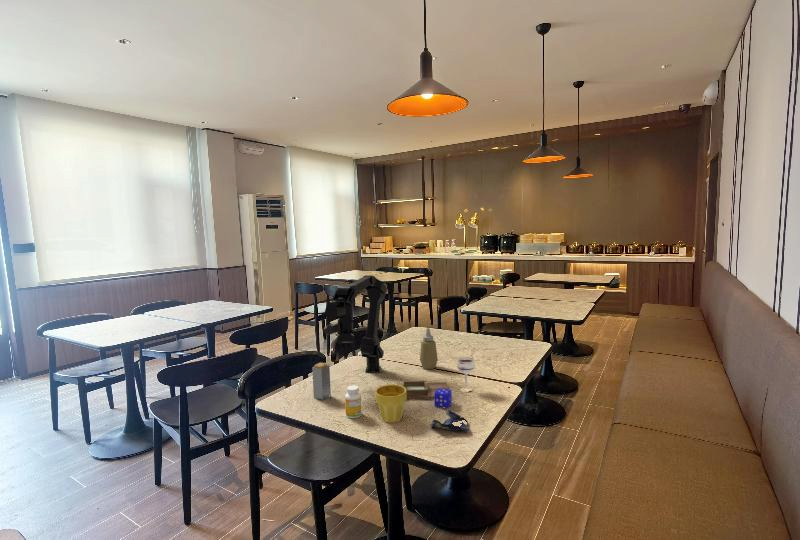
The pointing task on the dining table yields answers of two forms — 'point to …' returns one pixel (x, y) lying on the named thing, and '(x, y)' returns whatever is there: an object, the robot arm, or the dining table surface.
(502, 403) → the dining table surface
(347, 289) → the robot arm
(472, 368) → the wineglass
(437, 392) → the die
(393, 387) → the plant pot
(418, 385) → the chassis board
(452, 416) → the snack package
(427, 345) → the squeeze bottle
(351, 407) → the supplement bottle
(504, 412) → the dining table surface
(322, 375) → the grey faceted pillar
